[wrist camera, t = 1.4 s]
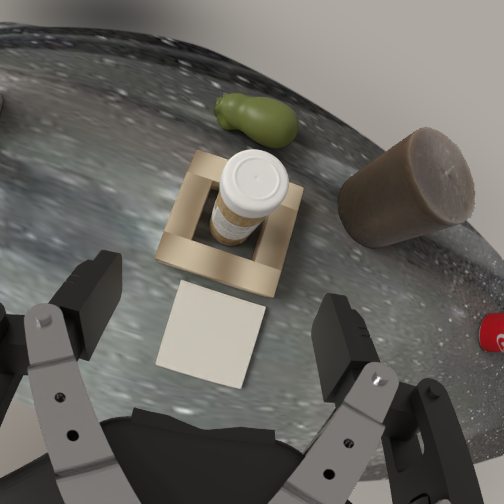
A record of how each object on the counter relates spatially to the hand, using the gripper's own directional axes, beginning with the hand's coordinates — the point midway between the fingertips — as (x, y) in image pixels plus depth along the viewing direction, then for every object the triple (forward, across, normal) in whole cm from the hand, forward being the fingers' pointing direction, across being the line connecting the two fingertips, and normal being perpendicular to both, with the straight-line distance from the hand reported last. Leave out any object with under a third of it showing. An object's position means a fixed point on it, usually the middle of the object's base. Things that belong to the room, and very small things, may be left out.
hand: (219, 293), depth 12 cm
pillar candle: (+26, -17, +3) cm, 31 cm away
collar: (+21, 0, +7) cm, 22 cm away
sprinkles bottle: (+21, 0, +7) cm, 22 cm away
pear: (+29, 0, -3) cm, 29 cm away
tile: (+13, 0, +16) cm, 20 cm away
